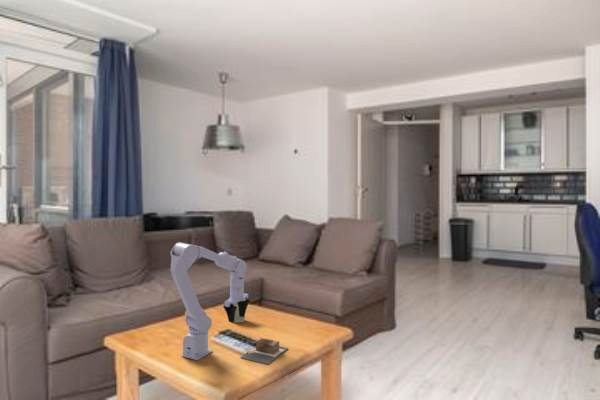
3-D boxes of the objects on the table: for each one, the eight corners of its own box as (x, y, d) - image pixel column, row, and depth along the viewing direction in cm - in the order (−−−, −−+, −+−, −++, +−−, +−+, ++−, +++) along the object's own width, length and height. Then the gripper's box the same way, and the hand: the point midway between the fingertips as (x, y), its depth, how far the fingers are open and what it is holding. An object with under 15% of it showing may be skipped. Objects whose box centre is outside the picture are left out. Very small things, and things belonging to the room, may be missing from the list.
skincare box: (244, 319, 199) (245, 294, 198) (243, 322, 194) (244, 297, 194) (231, 319, 198) (231, 294, 198) (230, 322, 194) (230, 297, 194)
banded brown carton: (255, 350, 161) (255, 341, 161) (261, 346, 165) (261, 337, 165) (273, 354, 157) (273, 345, 157) (279, 350, 161) (279, 341, 161)
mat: (267, 364, 150) (267, 363, 150) (240, 358, 155) (240, 357, 155) (288, 349, 164) (288, 348, 164) (262, 343, 169) (262, 342, 169)
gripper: (234, 292, 162) (234, 326, 163) (254, 284, 175) (254, 315, 176) (220, 290, 165) (220, 323, 166) (240, 282, 178) (240, 313, 179)
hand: (236, 319), depth 171 cm, fingers open, 7 cm apart
